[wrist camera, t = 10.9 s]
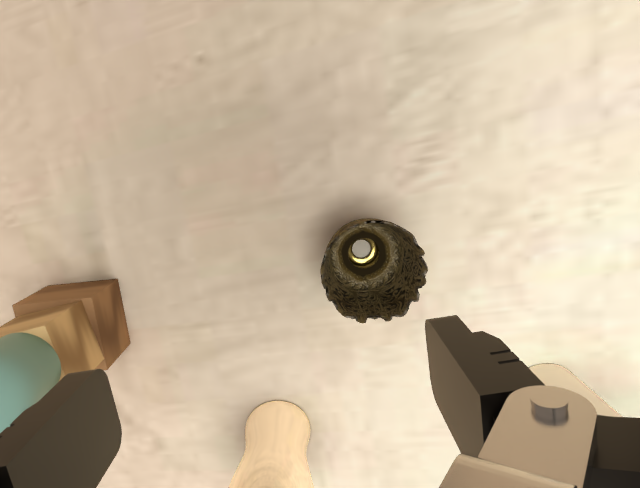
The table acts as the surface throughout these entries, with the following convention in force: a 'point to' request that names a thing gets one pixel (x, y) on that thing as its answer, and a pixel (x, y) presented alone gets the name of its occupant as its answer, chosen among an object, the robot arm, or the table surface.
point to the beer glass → (275, 448)
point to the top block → (62, 335)
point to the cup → (373, 271)
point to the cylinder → (25, 373)
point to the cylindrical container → (571, 385)
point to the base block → (88, 312)
